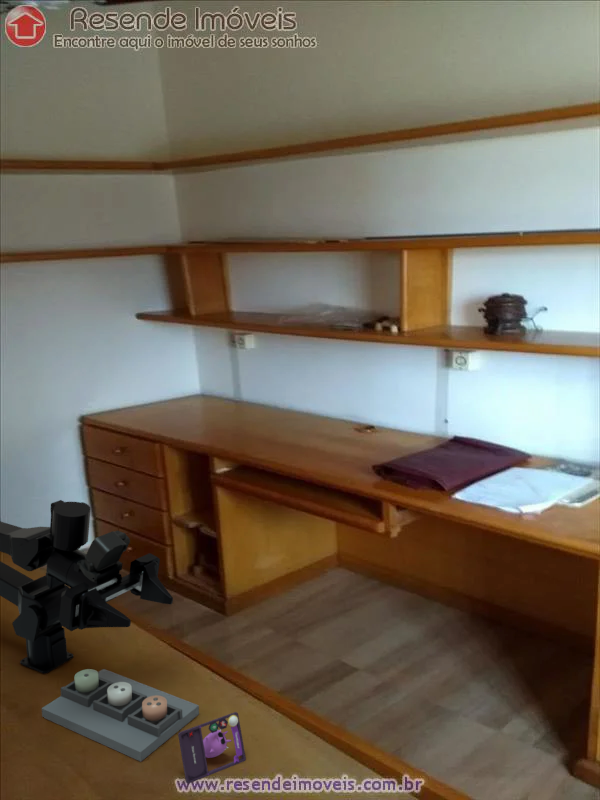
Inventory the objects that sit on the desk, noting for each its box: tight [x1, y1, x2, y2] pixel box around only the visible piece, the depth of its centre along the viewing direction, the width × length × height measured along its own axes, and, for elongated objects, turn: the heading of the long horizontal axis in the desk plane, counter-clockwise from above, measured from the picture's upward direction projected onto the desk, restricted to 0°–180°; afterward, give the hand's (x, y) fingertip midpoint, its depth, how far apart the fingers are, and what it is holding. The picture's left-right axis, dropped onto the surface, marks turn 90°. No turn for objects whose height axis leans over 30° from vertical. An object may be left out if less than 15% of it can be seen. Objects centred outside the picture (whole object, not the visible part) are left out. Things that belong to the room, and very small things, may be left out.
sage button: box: [74, 668, 99, 692], centre depth 124 cm, size 4×4×2 cm
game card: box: [177, 711, 247, 785], centre depth 110 cm, size 7×5×9 cm
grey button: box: [107, 682, 132, 706], centre depth 120 cm, size 4×4×2 cm
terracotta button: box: [142, 695, 167, 721], centre depth 117 cm, size 4×4×2 cm
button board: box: [41, 668, 200, 762], centre depth 121 cm, size 20×13×3 cm, turn 59°
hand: (151, 612), depth 119 cm, fingers open, 9 cm apart
